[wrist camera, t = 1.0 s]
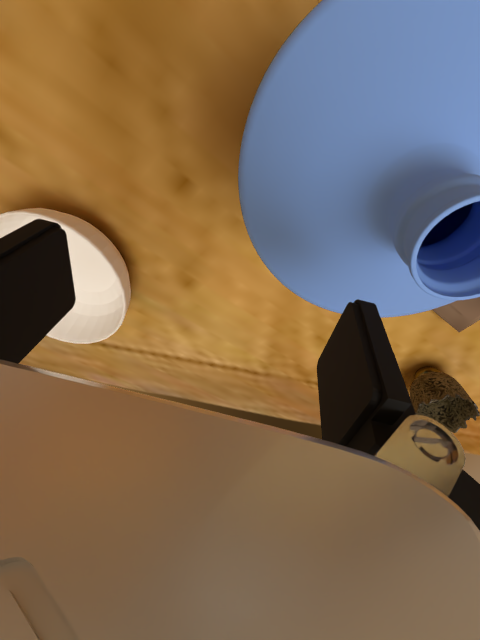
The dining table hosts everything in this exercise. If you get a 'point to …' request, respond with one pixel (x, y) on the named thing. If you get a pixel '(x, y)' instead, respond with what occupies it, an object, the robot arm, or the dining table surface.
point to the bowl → (84, 276)
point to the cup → (441, 399)
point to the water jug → (370, 156)
